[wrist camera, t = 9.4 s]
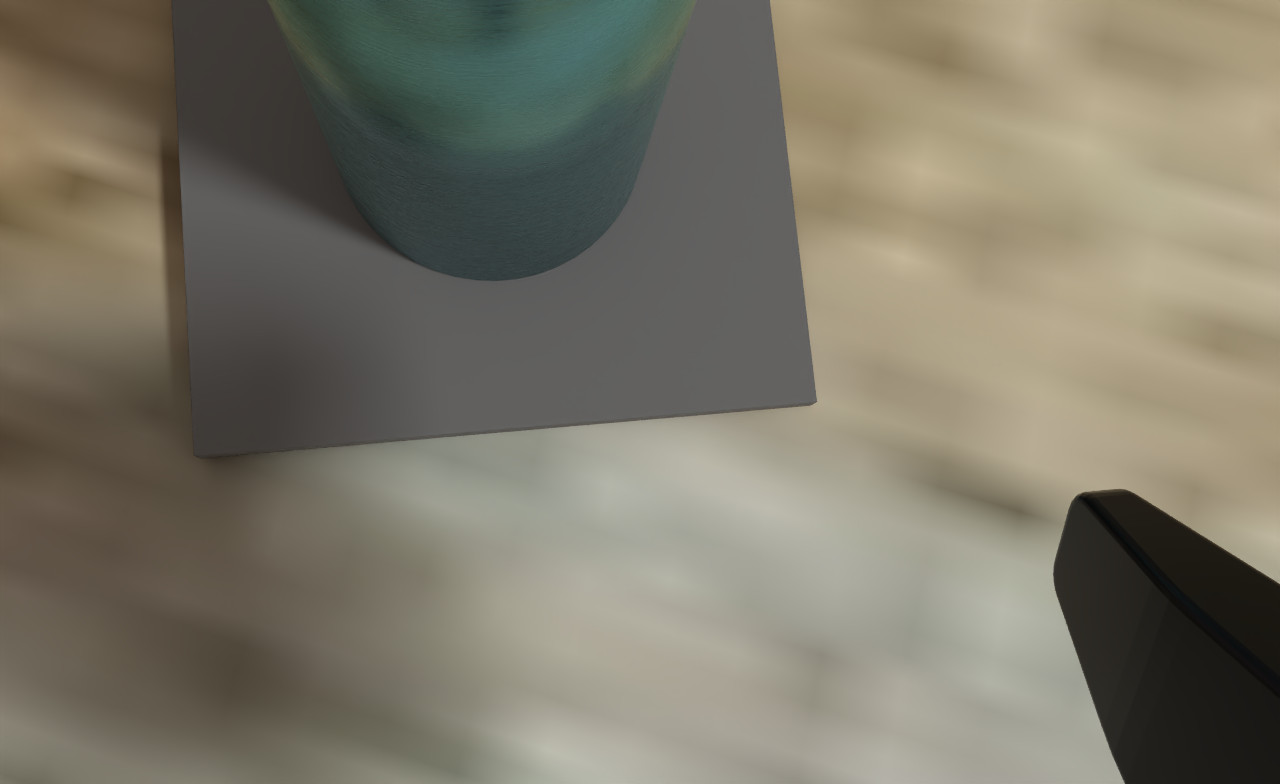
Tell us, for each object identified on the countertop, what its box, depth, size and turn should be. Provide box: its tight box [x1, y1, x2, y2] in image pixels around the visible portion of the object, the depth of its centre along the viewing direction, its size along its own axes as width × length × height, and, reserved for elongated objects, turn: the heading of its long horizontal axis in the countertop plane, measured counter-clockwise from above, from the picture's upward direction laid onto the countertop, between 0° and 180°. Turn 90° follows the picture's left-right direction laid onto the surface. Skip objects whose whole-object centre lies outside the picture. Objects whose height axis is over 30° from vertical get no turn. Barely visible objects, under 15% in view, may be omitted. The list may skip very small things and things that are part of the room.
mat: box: [172, 0, 817, 458], centre depth 19 cm, size 9×9×1 cm
